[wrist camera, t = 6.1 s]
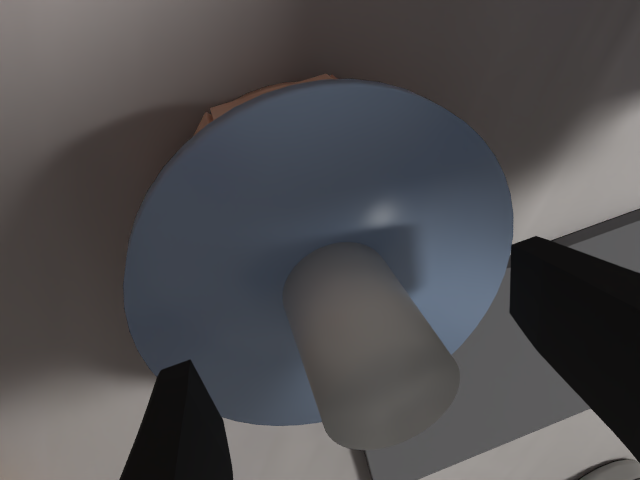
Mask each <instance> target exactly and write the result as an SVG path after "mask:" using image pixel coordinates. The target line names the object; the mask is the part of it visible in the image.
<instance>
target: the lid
mask: <svg viewBox="0 0 640 480" xmlns="http://www.w3.org/2000/svg"><path fill="white" fill-rule="evenodd" d="M512 239H513V209H512V201H511V194H510V191H509V188H508V185H507V181H506V178H505V175H504V173H503V171H502V169H501V167H500V165H499V163H498V161H497V159H496V157H495V155H494V154H493V152H492V151H491V150H490V148H489V147H488V146H487V144H486V143H485V142H484V140H483V139H482V138H481V137H480V136H479V135H478V134H477V133H476V132H475V131H474V130H473V129H472V128H471V127H470V126H469V125H468V124H467V123H466V122H464V121H463V120H461V119H460V118H458V117H457V116H455V115H454V114H452V113H451V112H449V111H448V110H446V109H445V108H443V107H441V106H439V105H438V104H436V103H434V102H432V101H430V100H429V99H427V98H424V97H422V96H420V95H418V94H415V93H413V92H411V91H409V90H407V89H404V88H400V87H396V86H393V85H389V84H385V83H382V82H376V81H367V80H359V79H325V80H317V81H311V82H305V83H299V84H294V85H290V86H287V87H283V88H280V89H277V90H274V91H271V92H267V93H264V94H262V95H259V96H257V97H255V98H253V99H251V100H249V101H247V102H244V103H242V104H240V105H238V106H236V107H234V108H232V109H231V110H229V111H228V112H226V113H224V114H223V115H221V116H220V117H218V118H217V119H215V120H213V121H212V122H210V123H209V124H207V125H206V126H205V127H204V128H203V129H201V130H200V131H199V132H198V133H197V134H195V135H194V136H193V137H192V138H191V139H190V140H188V141H187V142H186V143H185V144H184V145H183V146H182V147H181V148H180V149H179V150H178V151H177V153H176V154H175V155H174V156H173V157H172V158H171V159H170V160H169V161H168V163H167V164H166V165H165V166H164V167H163V169H162V170H161V172H160V173H159V175H158V176H157V178H156V179H155V181H154V182H153V184H152V185H151V187H150V188H149V190H148V191H147V193H146V195H145V198H144V200H143V202H142V204H141V206H140V208H139V210H138V213H137V215H136V217H135V221H134V224H133V228H132V231H131V235H130V238H129V243H128V251H127V258H126V267H125V275H124V283H123V290H124V309H125V313H126V318H127V322H128V326H129V331H130V333H131V336H132V338H133V340H134V343H135V345H136V347H137V350H138V352H139V353H140V355H141V356H142V358H143V359H144V361H145V362H146V364H147V366H148V367H149V369H150V370H151V371H152V372H153V373H154V374H155V375H156V376H158V374H159V372H160V371H161V370H162V369H165V368H167V367H170V366H173V365H176V364H179V363H181V362H184V361H187V360H190V359H191V361H192V363H193V365H194V367H195V369H196V370H197V372H198V374H199V376H200V378H201V380H202V382H203V383H204V385H205V387H206V389H207V391H208V393H209V395H210V397H211V398H212V400H213V402H214V404H215V406H216V408H217V410H218V412H219V413H220V415H221V417H223V418H227V419H230V420H234V421H238V422H244V423H250V424H256V425H271V426H288V425H303V424H311V423H319V422H323V425H324V428H325V431H326V433H327V434H328V436H329V437H330V438H331V439H332V440H333V441H334V442H336V443H337V444H339V445H341V446H343V447H346V448H350V449H356V450H375V449H382V448H386V447H390V446H393V445H396V444H399V443H402V442H404V441H406V440H408V439H410V438H412V437H414V436H416V435H418V434H419V433H421V432H423V431H424V430H426V429H427V428H428V427H430V426H431V425H432V424H433V423H435V422H436V421H437V420H438V419H439V418H440V417H441V416H442V415H443V414H444V413H445V411H446V410H447V409H448V408H449V406H450V405H451V403H452V402H453V400H454V398H455V396H456V394H457V391H458V388H459V384H460V371H459V367H458V365H457V363H456V361H455V360H454V358H453V357H452V354H453V353H454V352H455V351H456V350H457V349H458V348H459V347H460V346H461V345H462V344H463V343H464V341H465V340H466V339H467V338H468V337H469V335H470V334H471V333H472V332H473V331H474V329H475V328H476V327H477V325H478V324H479V322H480V321H481V319H482V318H483V317H484V315H485V314H486V312H487V310H488V309H489V307H490V305H491V303H492V301H493V299H494V298H495V296H496V294H497V292H498V289H499V287H500V284H501V282H502V280H503V277H504V275H505V271H506V268H507V264H508V261H509V257H510V252H511V245H512Z"/></svg>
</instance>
